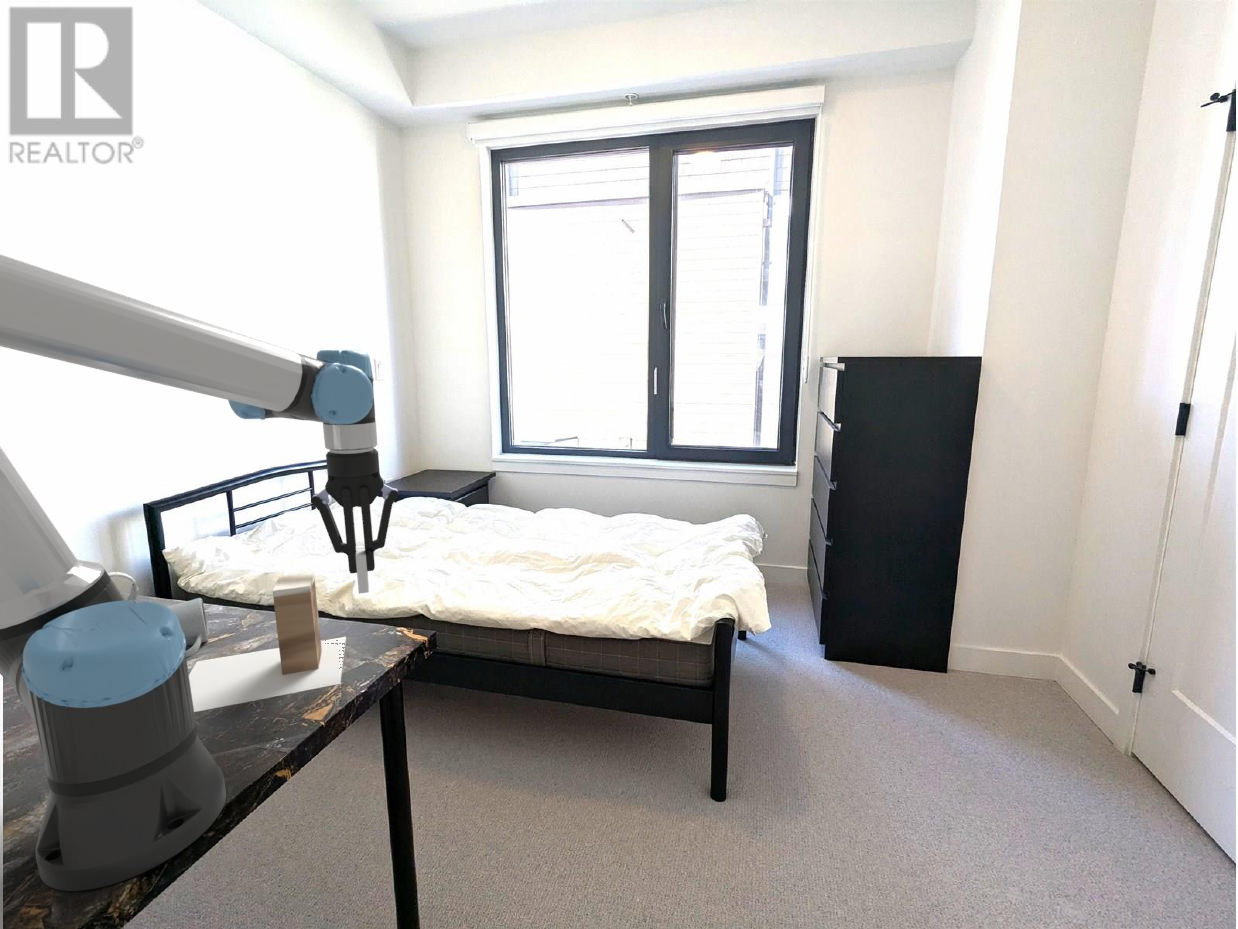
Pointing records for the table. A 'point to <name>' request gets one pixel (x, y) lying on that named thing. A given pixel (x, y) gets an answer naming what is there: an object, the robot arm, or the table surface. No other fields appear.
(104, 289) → the robot arm
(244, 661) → the white mat
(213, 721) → the table surface
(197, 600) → the ceramic mug
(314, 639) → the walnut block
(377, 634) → the table surface
